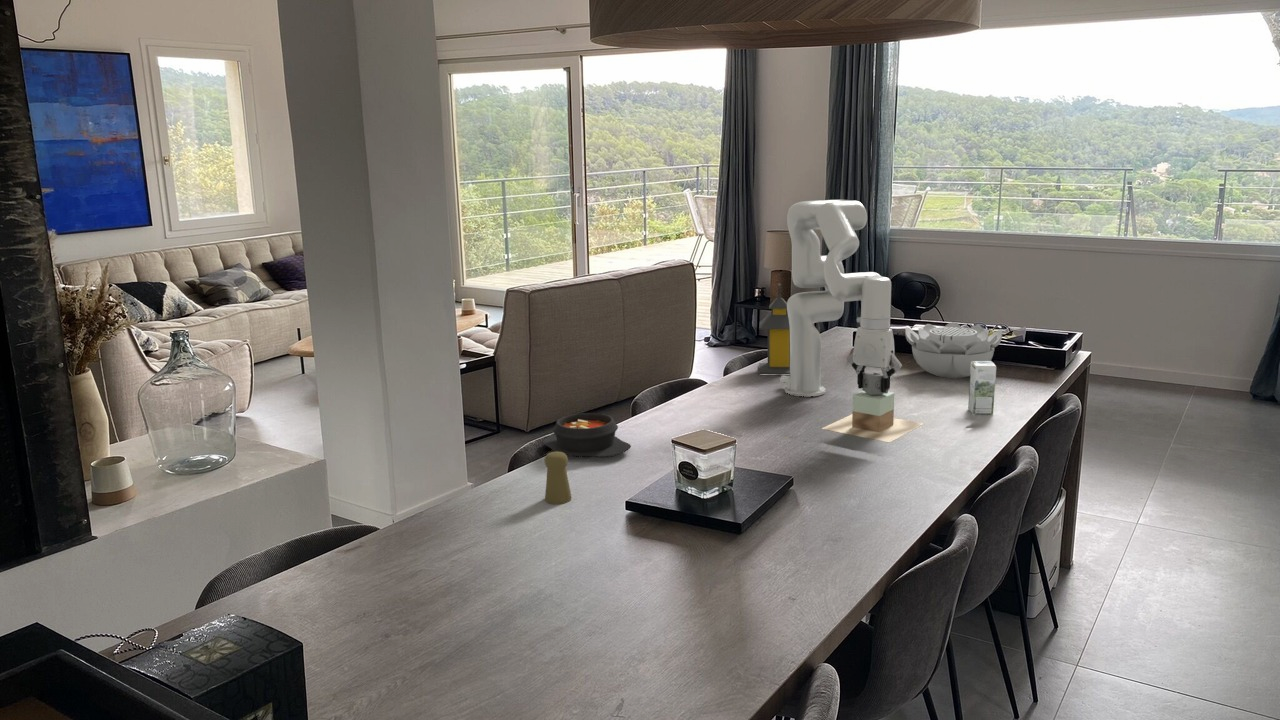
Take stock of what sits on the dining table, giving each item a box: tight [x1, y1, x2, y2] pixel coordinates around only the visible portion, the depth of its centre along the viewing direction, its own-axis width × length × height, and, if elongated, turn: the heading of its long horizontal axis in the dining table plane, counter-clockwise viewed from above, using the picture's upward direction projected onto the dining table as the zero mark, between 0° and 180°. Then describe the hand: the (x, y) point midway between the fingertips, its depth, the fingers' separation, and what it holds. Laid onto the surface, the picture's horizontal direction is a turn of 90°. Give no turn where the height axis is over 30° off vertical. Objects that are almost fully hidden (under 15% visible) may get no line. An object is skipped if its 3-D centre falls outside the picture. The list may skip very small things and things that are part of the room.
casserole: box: [541, 412, 632, 458], centre depth 245 cm, size 25×19×8 cm
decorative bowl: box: [904, 321, 1003, 379], centre depth 309 cm, size 30×30×15 cm
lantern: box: [758, 283, 790, 375], centre depth 321 cm, size 14×14×30 cm
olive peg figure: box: [544, 451, 572, 505], centre depth 212 cm, size 6×6×11 cm
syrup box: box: [967, 360, 997, 415], centre depth 267 cm, size 6×6×14 cm
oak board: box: [821, 413, 925, 443], centre depth 254 cm, size 20×20×2 cm
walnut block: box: [851, 408, 895, 432], centre depth 254 cm, size 8×8×4 cm
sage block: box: [852, 390, 895, 416], centre depth 253 cm, size 8×8×4 cm
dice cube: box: [861, 370, 889, 395], centre depth 251 cm, size 5×5×5 cm
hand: (873, 388), depth 252 cm, fingers closed on dice cube, 6 cm apart
